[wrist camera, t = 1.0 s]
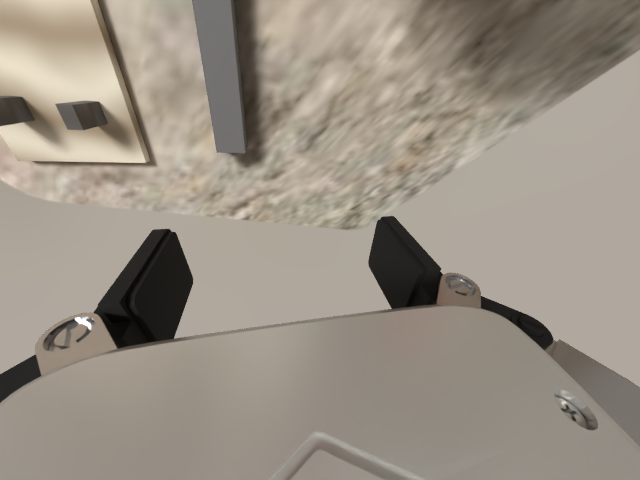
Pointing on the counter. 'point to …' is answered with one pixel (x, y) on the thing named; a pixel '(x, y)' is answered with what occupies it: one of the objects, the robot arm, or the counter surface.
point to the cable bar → (222, 72)
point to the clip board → (63, 85)
